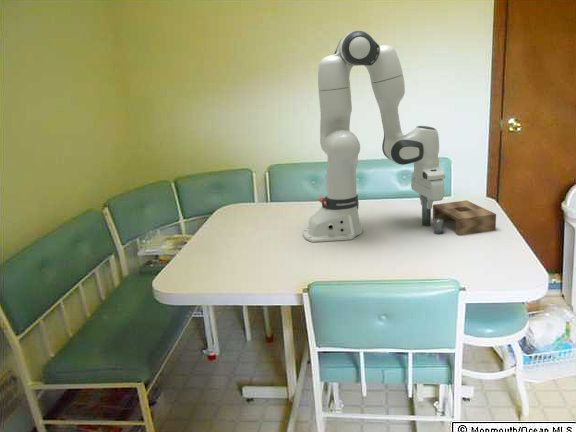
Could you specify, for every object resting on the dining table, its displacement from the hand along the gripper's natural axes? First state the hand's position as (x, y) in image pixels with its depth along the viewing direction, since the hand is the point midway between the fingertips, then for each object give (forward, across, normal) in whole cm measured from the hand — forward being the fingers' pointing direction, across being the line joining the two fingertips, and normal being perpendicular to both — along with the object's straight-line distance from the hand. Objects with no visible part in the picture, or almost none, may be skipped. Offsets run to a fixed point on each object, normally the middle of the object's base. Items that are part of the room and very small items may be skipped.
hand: (426, 206), depth 181 cm
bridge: (+7, +5, +12) cm, 15 cm away
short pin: (+7, +10, 0) cm, 12 cm away
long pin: (+7, 0, 0) cm, 7 cm away
